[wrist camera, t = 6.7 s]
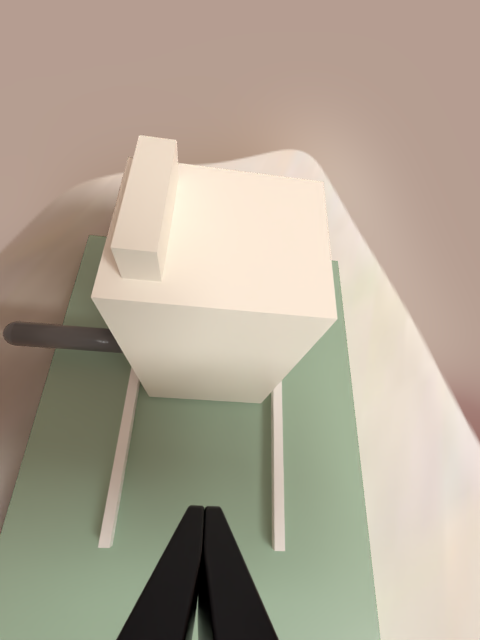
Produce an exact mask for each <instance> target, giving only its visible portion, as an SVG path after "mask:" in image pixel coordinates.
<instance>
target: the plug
mask: <svg viewBox="0 0 480 640" xmlns="http://www.w3.org/2000/svg"><path fill="white" fill-rule="evenodd" d="M91 299H92V300H93V302H94V304H95V305H96V307H97V309H98V311H99V312H100V314H101V316H102V317H103V319H104V321H105V322H106V324H107V326H108V328H109V329H107V328H94V327H81V326H69V325H56V324H44V323H31V322H12V323H10V324H8V325H7V326H6V327H5V329H4V331H3V336H4V339H5V340H6V341H7V342H8V343H9V344H12V345H16V346H30V347H43V348H57V349H71V350H84V351H98V352H112V353H124V355H125V357H126V358H127V360H128V362H129V363H130V365H131V367H132V368H133V370H134V372H135V374H136V375H137V377H138V379H139V380H140V382H141V384H142V386H143V387H144V389H145V391H146V392H147V394H148V396H149V397H163V398H179V399H195V400H211V401H228V402H244V403H260V404H261V403H262V402H263V401H264V399H265V398H266V397H267V396H268V395H269V394H270V393H271V392H272V391H273V390H274V388H275V387H276V386H277V385H278V384H279V383H280V382H281V381H282V380H283V379H284V377H285V376H286V375H287V374H288V373H289V372H290V371H291V370H292V369H293V368H294V366H295V365H296V364H297V363H298V362H299V361H300V360H301V359H302V358H303V357H304V355H305V354H306V353H307V352H308V351H309V350H310V349H311V348H312V347H313V346H314V344H315V343H316V342H317V341H318V340H319V339H320V338H321V337H322V336H323V335H324V333H325V332H326V331H327V330H328V329H329V328H330V327H331V326H332V325H333V324H334V322H335V321H336V320H337V319H338V318H337V308H336V299H335V289H334V279H333V270H332V260H331V250H330V241H329V231H328V221H327V212H326V202H325V192H324V183H323V182H321V181H313V180H305V179H298V178H290V177H282V176H274V175H267V174H259V173H251V172H243V171H235V170H228V169H220V168H212V167H204V166H197V165H189V164H181V163H178V155H177V140H171V139H163V138H156V137H149V136H141V135H139V139H138V142H137V146H136V150H135V154H134V157H128V160H127V163H126V167H125V171H124V174H123V178H122V182H121V186H120V189H119V193H118V197H117V201H116V204H115V208H114V212H113V216H112V219H111V223H110V227H109V231H108V234H107V238H106V242H105V246H104V249H103V253H102V257H101V261H100V264H99V268H98V272H97V276H96V279H95V283H94V287H93V291H92V294H91Z"/></svg>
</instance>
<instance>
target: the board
mask: <svg viewBox="0 0 480 640" xmlns="http://www.w3.org/2000/svg"><path fill="white" fill-rule="evenodd" d="M106 238H107V237H104V236H94V235H89V237H88V241H87V244H86V247H85V251H84V254H83V258H82V261H81V264H80V268H79V271H78V274H77V278H76V281H75V284H74V288H73V291H72V295H71V298H70V301H69V305H68V308H67V311H66V315H65V318H64V322H63V325H69V326H81V327H94V328H107V329H109V328H108V326H107V324H106V322H105V321H104V319H103V317H102V316H101V314H100V312H99V311H98V309H97V307H96V305H95V304H94V302H93V300H92V299H91V294H92V291H93V287H94V283H95V279H96V276H97V272H98V268H99V264H100V261H101V257H102V253H103V249H104V246H105V242H106ZM332 270H333V279H334V289H335V299H336V308H337V318H338V319H337V320H336V321H335V322H334V324H333V325H332V326H331V327H330V328H329V329H328V330H327V331H326V332H325V333H324V335H323V336H322V337H321V338H320V339H319V340H318V341H317V342H316V343H315V344H314V346H313V347H312V348H311V349H310V350H309V351H308V352H307V353H306V354H305V355H304V357H303V358H302V359H301V360H300V361H299V362H298V363H297V364H296V365H295V366H294V368H293V369H292V370H291V371H290V372H289V373H288V374H287V375H286V376H285V377H284V379H283V380H282V381H281V382H280V383H279V384H278V385H277V386H276V387H275V388H274V390H273V391H272V392H271V393H270V394H269V395H268V396H267V397H266V398H265V399H264V401H263V402H262V403H261V404H260V403H244V402H228V401H211V400H195V399H179V398H163V397H149V396H148V394H147V392H146V391H145V389H144V387H143V386H142V384H141V382H140V380H139V379H138V377H137V375H136V374H135V372H134V370H133V368H132V367H131V365H130V363H129V362H128V360H127V358H126V357H125V355H124V353H112V352H98V351H84V350H71V349H57V348H56V349H55V352H54V355H53V359H52V362H51V365H50V369H49V372H48V376H47V379H46V382H45V386H44V389H43V392H42V396H41V399H40V403H39V406H38V409H37V413H36V416H35V419H34V423H33V426H32V430H31V433H30V436H29V440H28V443H27V446H26V450H25V453H24V456H23V460H22V463H21V467H20V470H19V473H18V477H17V480H16V483H15V487H14V490H13V494H12V497H11V500H10V504H9V507H8V510H7V514H6V517H5V521H4V524H3V527H2V531H1V534H0V640H116V639H117V637H118V635H119V633H120V631H121V630H122V628H123V626H124V624H125V622H126V620H127V619H128V617H129V615H130V613H131V611H132V609H133V607H134V606H135V604H136V602H137V600H138V598H139V596H140V594H141V593H142V591H143V589H144V587H145V585H146V583H147V582H148V580H149V578H150V576H151V574H152V572H153V570H154V569H155V567H156V565H157V563H158V561H159V559H160V558H161V556H162V554H163V552H164V550H165V548H166V546H167V545H168V543H169V541H170V539H171V537H172V535H173V534H174V532H175V530H176V528H177V526H178V524H179V522H180V521H181V519H182V517H183V515H184V513H185V511H186V509H187V508H188V507H189V506H190V505H201V506H204V509H205V507H206V506H220V507H221V508H222V510H223V512H224V515H225V517H226V519H227V522H228V524H229V526H230V529H231V531H232V533H233V535H234V538H235V540H236V542H237V545H238V547H239V549H240V551H241V554H242V556H243V558H244V561H245V563H246V565H247V567H248V570H249V572H250V574H251V577H252V579H253V581H254V583H255V586H256V588H257V590H258V593H259V595H260V597H261V599H262V602H263V604H264V606H265V609H266V611H267V613H268V616H269V618H270V620H271V622H272V625H273V627H274V629H275V632H276V634H277V636H278V638H279V640H380V631H379V622H378V613H377V604H376V595H375V586H374V578H373V569H372V560H371V551H370V542H369V533H368V525H367V516H366V507H365V498H364V489H363V480H362V471H361V463H360V454H359V445H358V436H357V427H356V418H355V409H354V401H353V392H352V383H351V374H350V365H349V356H348V347H347V339H346V330H345V321H344V312H343V303H342V294H341V286H340V277H339V268H338V261H332ZM197 609H198V601H197ZM192 640H198V612H197V610H196V617H195V624H194V630H193V636H192Z"/></svg>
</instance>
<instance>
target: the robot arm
mask: <svg viewBox="0 0 480 640" xmlns="http://www.w3.org/2000/svg"><path fill="white" fill-rule="evenodd" d="M197 601H198V609H197ZM196 610H197V612H198V640H279V638H278V636H277V634H276V632H275V629H274V627H273V625H272V622H271V620H270V618H269V616H268V613H267V611H266V609H265V606H264V604H263V602H262V599H261V597H260V595H259V593H258V590H257V588H256V586H255V583H254V581H253V579H252V577H251V574H250V572H249V570H248V567H247V565H246V563H245V561H244V558H243V556H242V554H241V551H240V549H239V547H238V545H237V542H236V540H235V538H234V535H233V533H232V531H231V529H230V526H229V524H228V522H227V519H226V517H225V515H224V512H223V510H222V508H221V507H220V506H206V507H205V509H204V506H201V505H190V506H189V507H188V508H187V509H186V511H185V513H184V515H183V517H182V519H181V521H180V522H179V524H178V526H177V528H176V530H175V532H174V534H173V535H172V537H171V539H170V541H169V543H168V545H167V546H166V548H165V550H164V552H163V554H162V556H161V558H160V559H159V561H158V563H157V565H156V567H155V569H154V570H153V572H152V574H151V576H150V578H149V580H148V582H147V583H146V585H145V587H144V589H143V591H142V593H141V594H140V596H139V598H138V600H137V602H136V604H135V606H134V607H133V609H132V611H131V613H130V615H129V617H128V619H127V620H126V622H125V624H124V626H123V628H122V630H121V631H120V633H119V635H118V637H117V639H116V640H192V636H193V630H194V624H195V617H196Z"/></svg>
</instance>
